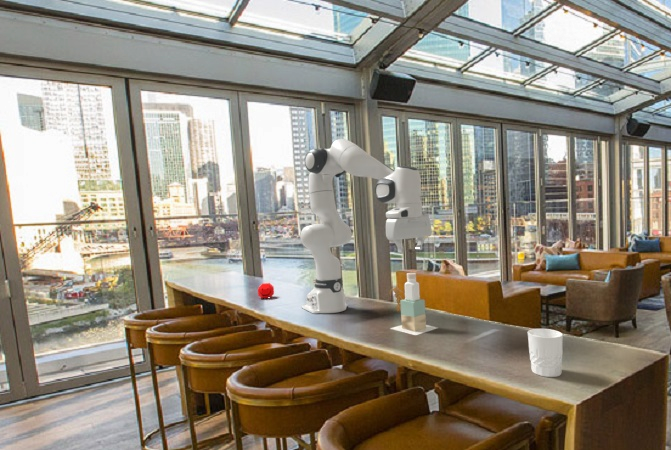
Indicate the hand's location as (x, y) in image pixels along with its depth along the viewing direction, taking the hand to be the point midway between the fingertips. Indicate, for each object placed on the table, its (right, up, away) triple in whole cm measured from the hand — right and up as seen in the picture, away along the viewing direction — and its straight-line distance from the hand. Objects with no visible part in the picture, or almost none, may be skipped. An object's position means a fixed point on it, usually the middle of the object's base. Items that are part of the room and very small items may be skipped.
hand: (410, 251), depth 143 cm
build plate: (+1, -28, +1) cm, 28 cm away
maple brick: (+1, -27, +1) cm, 27 cm away
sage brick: (+1, -22, +1) cm, 22 cm away
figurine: (0, -28, +26) cm, 38 cm away
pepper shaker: (+1, -18, 0) cm, 18 cm away
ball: (-63, -30, +74) cm, 102 cm away
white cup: (+27, -28, -40) cm, 56 cm away
